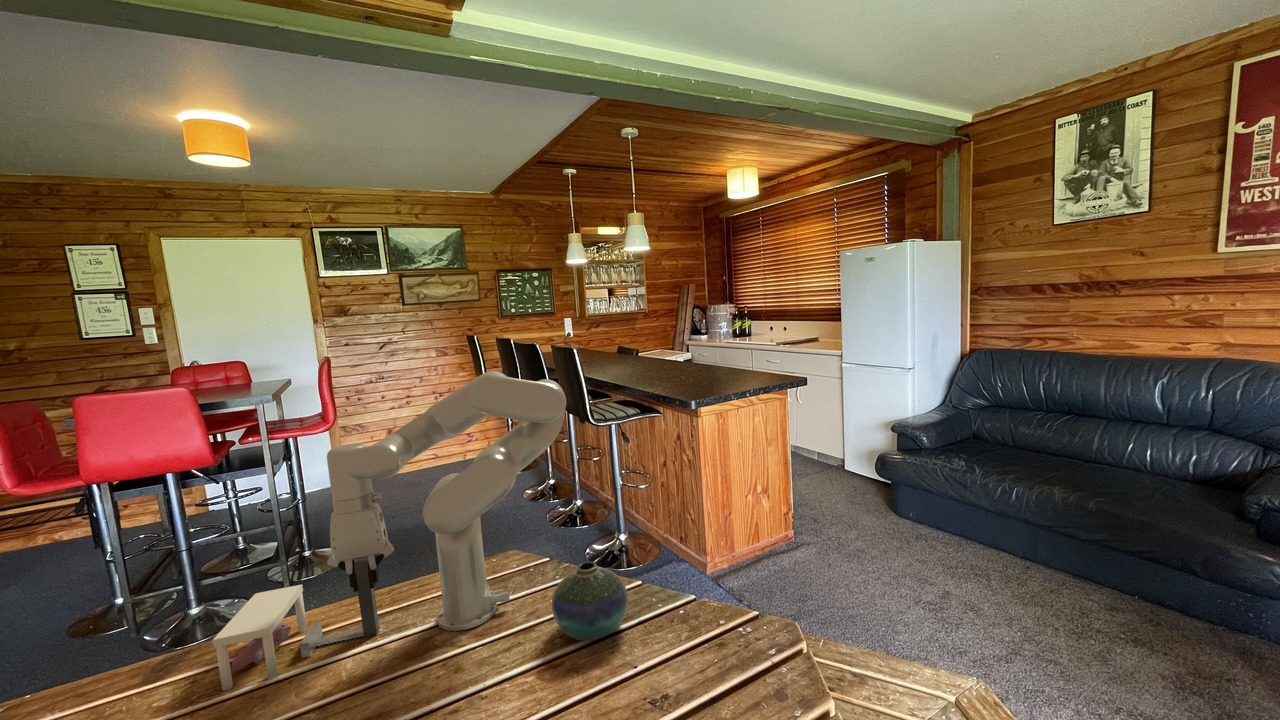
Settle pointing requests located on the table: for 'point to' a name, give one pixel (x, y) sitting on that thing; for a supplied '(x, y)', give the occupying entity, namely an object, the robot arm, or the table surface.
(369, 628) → the scraper
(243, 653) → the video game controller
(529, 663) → the table surface
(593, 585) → the vase
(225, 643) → the low stool
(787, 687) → the table surface
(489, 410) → the robot arm
